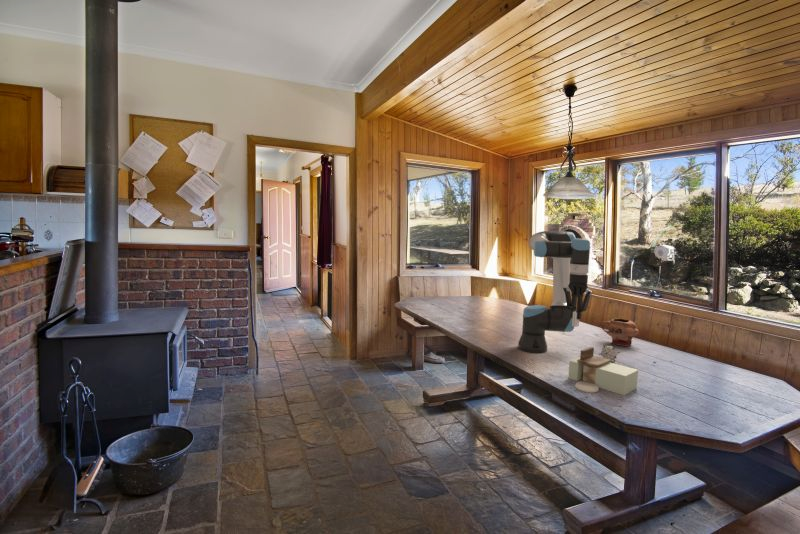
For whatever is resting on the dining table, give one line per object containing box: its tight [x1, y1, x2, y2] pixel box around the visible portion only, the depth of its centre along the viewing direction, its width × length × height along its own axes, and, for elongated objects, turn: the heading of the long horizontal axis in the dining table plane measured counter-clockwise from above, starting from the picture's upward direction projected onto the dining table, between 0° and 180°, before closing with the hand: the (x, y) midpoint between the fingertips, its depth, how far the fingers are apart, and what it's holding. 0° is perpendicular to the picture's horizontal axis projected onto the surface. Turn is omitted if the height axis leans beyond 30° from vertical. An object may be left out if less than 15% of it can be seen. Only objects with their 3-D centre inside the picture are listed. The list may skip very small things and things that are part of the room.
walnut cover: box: [577, 346, 612, 368], centre depth 195 cm, size 9×12×5 cm
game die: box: [598, 343, 620, 362], centre depth 223 cm, size 9×8×10 cm
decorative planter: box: [600, 318, 640, 347], centre depth 254 cm, size 20×12×14 cm, turn 53°
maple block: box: [582, 364, 597, 384], centre depth 196 cm, size 6×6×7 cm
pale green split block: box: [567, 356, 639, 396], centre depth 192 cm, size 24×12×8 cm, turn 41°
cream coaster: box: [575, 381, 600, 394], centre depth 186 cm, size 9×9×1 cm
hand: (575, 325), depth 200 cm, fingers closed
